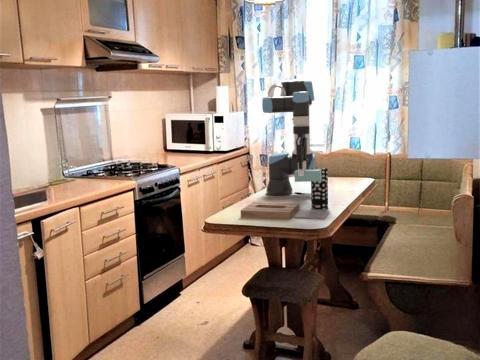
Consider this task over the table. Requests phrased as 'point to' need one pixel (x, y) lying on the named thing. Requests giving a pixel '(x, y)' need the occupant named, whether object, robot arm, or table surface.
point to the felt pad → (312, 214)
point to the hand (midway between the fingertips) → (302, 175)
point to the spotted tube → (320, 190)
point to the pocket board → (270, 210)
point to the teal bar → (308, 176)
